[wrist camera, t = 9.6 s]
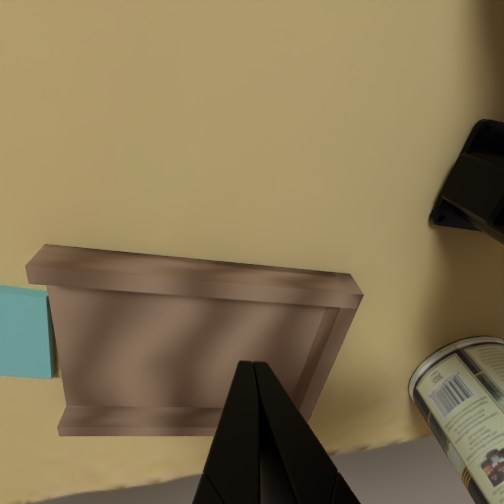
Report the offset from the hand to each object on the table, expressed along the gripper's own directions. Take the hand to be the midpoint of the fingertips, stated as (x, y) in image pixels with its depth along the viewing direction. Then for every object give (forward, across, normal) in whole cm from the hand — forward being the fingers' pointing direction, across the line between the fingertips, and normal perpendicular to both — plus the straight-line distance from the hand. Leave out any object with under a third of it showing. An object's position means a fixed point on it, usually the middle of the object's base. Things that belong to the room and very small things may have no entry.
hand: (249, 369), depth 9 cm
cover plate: (+12, +15, +11) cm, 22 cm away
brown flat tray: (+12, +1, +12) cm, 17 cm away
